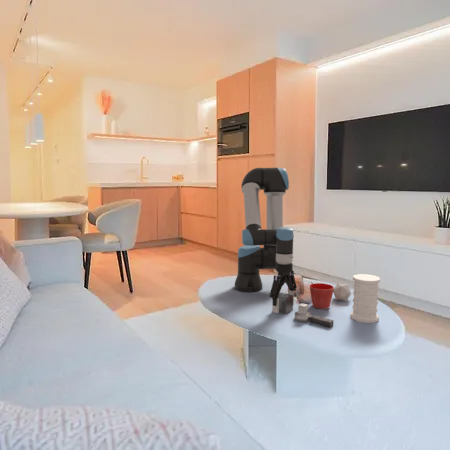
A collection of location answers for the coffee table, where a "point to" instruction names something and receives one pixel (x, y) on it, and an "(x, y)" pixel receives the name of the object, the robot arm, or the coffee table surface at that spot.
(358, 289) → the decorative container
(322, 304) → the flower pot
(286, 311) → the grey wood-grain cube
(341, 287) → the die
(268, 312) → the coffee table surface
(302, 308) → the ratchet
